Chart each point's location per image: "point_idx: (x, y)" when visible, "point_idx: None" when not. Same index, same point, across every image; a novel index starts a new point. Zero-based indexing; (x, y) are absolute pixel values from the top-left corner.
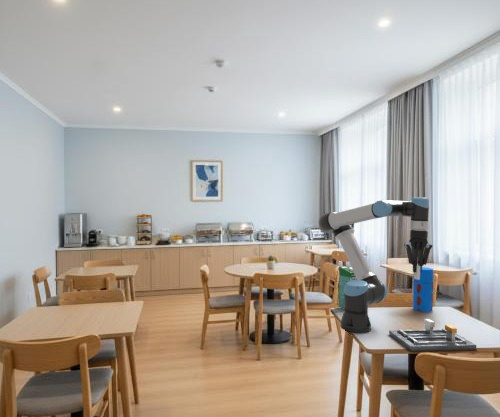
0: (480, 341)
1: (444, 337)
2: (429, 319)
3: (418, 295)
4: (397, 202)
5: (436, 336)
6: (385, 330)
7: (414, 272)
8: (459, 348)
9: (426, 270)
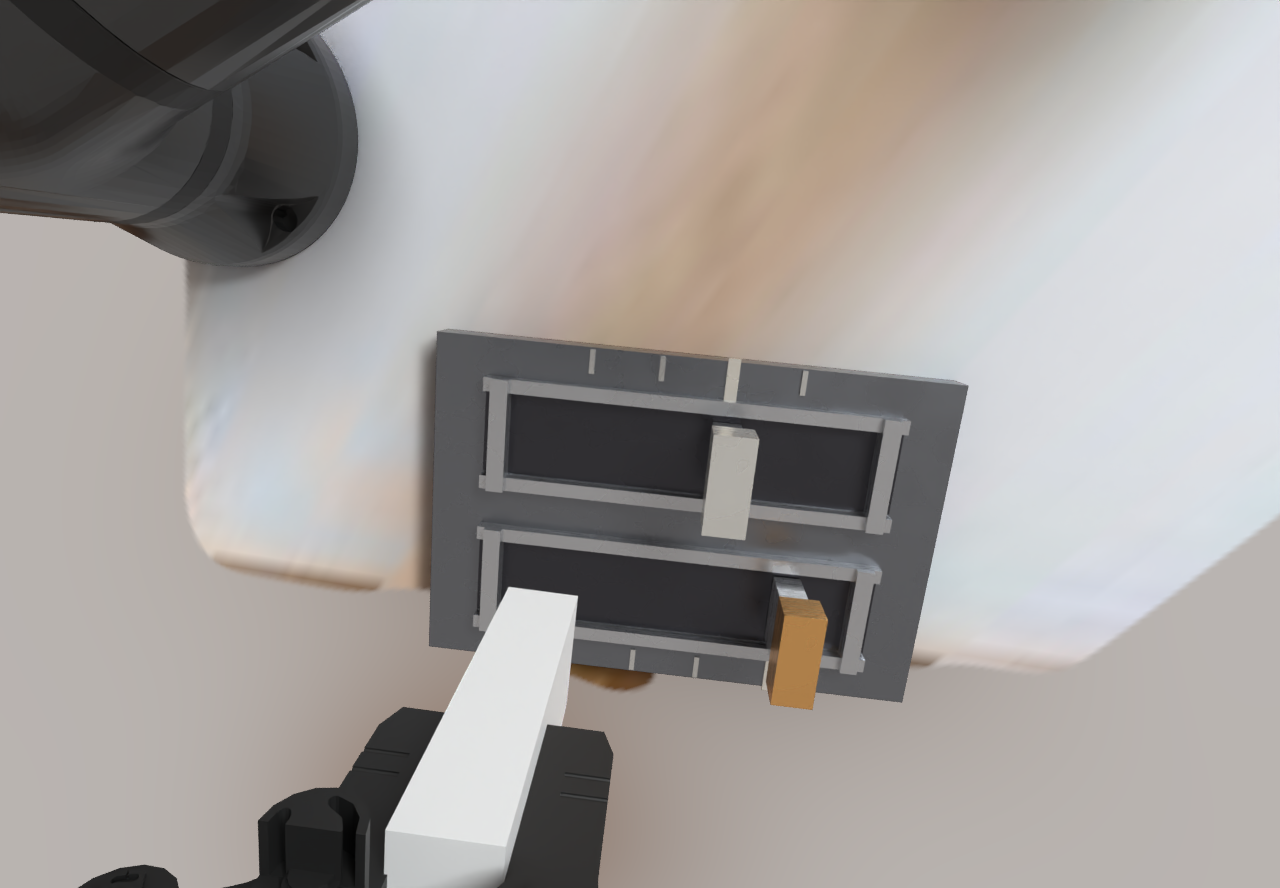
0: (1064, 569)
1: (767, 569)
2: (751, 464)
3: None
4: None
5: None
6: (467, 229)
7: (469, 680)
8: None
9: None
